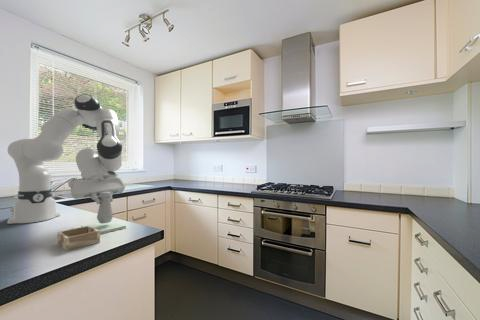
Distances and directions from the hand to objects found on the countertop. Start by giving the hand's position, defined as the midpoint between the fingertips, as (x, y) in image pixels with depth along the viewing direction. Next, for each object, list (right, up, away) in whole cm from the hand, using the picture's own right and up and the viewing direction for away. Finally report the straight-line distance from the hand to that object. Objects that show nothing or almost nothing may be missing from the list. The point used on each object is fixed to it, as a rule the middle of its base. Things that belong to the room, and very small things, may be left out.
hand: (105, 202), depth 92 cm
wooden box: (+1, -11, -16) cm, 20 cm away
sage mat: (-1, -11, 0) cm, 11 cm away
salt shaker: (0, -9, 0) cm, 9 cm away
